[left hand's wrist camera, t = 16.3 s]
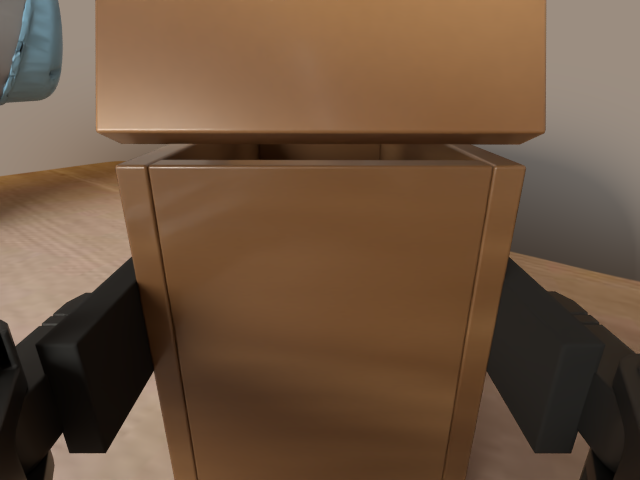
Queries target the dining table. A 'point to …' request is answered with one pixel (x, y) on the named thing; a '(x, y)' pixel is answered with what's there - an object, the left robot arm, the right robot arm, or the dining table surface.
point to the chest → (320, 303)
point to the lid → (321, 71)
